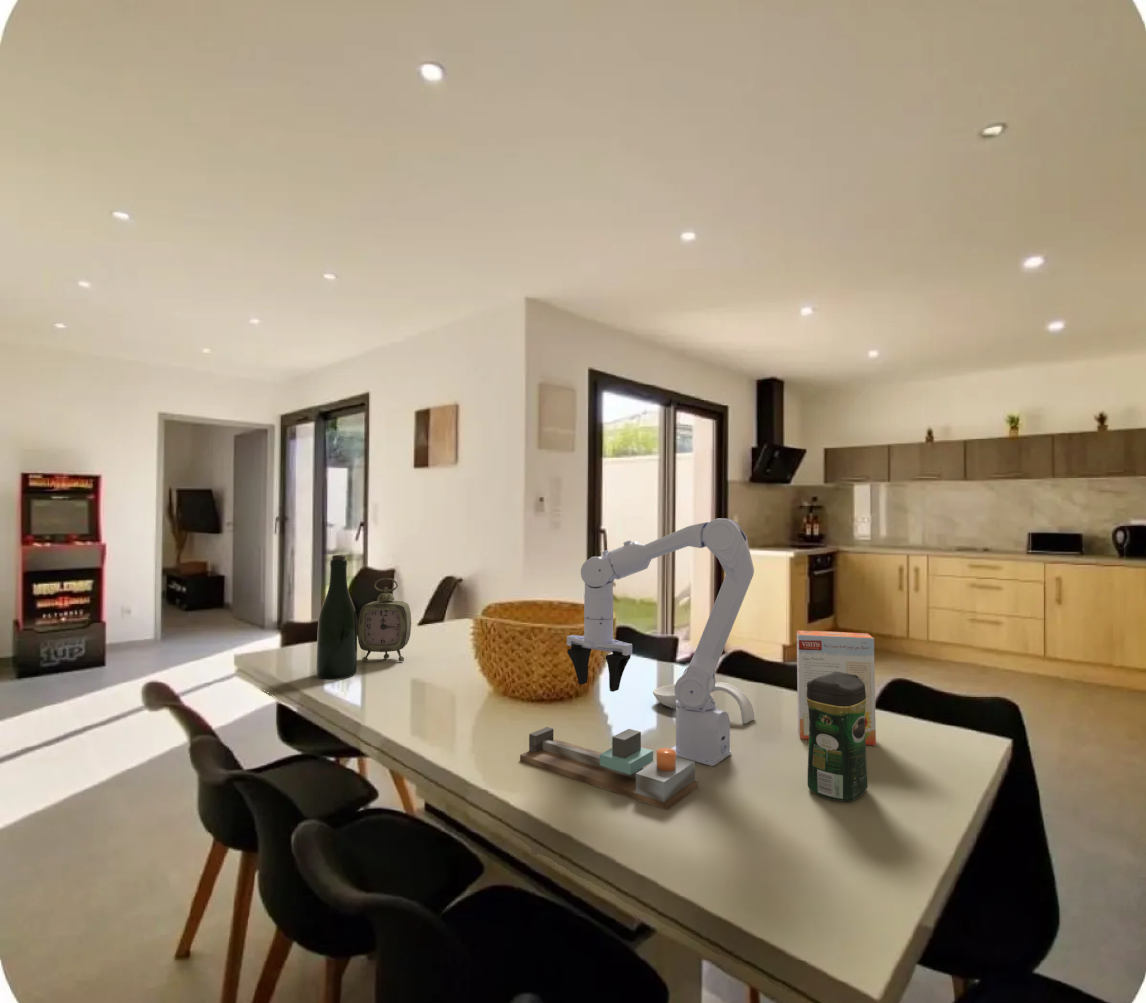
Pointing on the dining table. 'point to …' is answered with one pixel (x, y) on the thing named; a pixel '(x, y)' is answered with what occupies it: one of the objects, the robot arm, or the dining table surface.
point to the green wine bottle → (337, 627)
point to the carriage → (626, 753)
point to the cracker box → (835, 669)
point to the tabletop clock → (384, 624)
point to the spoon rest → (669, 699)
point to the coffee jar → (837, 736)
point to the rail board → (611, 771)
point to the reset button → (666, 759)
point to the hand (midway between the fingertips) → (598, 687)
